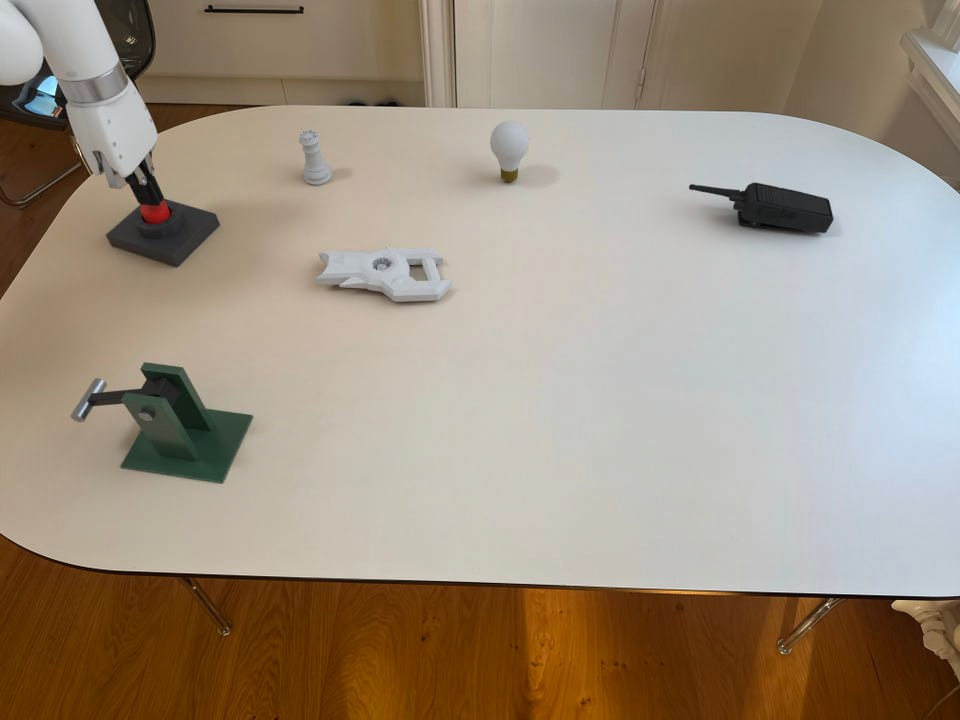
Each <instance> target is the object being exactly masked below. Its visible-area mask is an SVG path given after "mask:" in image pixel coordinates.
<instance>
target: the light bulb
mask: <svg viewBox="0 0 960 720" xmlns="http://www.w3.org/2000/svg"><path fill="white" fill-rule="evenodd" d="M489 145H490V149H491V152H492V154H493V156H495V157H496V159H497V161H498V164H499V167H500V178H501V179H502V180H503V181H504V182H507V183H512V182H514V181H516V180H517V179H518V176H519V167H520V165H521V162H522V159H523V158H524V156H526V154H527V153H528V151H529V147H530V135H529V133H528V130H527V129H526V128H525V126H523V125H522V123H519V121H514V120H506V121H503V122H500V123H499V124H497V125H496V126H495V127H494V129H493V131H492V132H491V135H490V139H489Z"/></svg>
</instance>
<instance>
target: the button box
mask: <svg viewBox="0 0 960 720" xmlns="http://www.w3.org/2000/svg"><path fill="white" fill-rule="evenodd" d="M163 201H165V202H166V204H167V206H168V209H169V211H170V217H169V218H168V219H167V220H165V221H163V222H160V223H157V224H148V223H147V222H146V221H145V220H144V218H143V216H142V214H141V212H140V208H141V206H142V205H141V204H139V205H138V206H137V207H136V208H135V209H134V210H132V211H131V212H130V213H128V214H127V216H125V217H124V218H123V219H122V220H121V221H119V223H117V224H116V225H115V226H114V227H113V228H112V229H110V231H108V232H107V233H106V234H105V237H106V239H107V240H108V242H109V244H110V246H111V247H112V248H115V249H119V250H121V251H125V252H128V253H131V254H133V255H137V256H140V257H142V258H147V259H150V260H153V261H154V262H155V261H156V262H159V263H162V264H164V265H168V266H170V267H174V268H179V267H180V266H181V265H182V264H183V263H184V262H185V261H186V260H187V259H188V258H190V256H191V255H192V254H193V253H194V252H195V251H196V250H197V249H198V248H199V247H200V246H201V245H202V244H203V243H204V242H205V241H206V240H208V238H209V237H210V236H211V235H212V234H213V233H214V232H215V231H216V230H217V229H218V228H219V227H220V226H221V223H220V220H219V218H218V215H217V213H215V212H211V211H208V210H205V209H201V208H198V207H195V206H191V205H188V204H184V203H180V202H177V201H174V200H172V199H171V200H170V199H167V198H164V199H163Z"/></svg>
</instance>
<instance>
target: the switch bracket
mask: <svg viewBox="0 0 960 720" xmlns="http://www.w3.org/2000/svg"><path fill="white" fill-rule="evenodd" d="M139 369H140V372H141V373H142V375H143V377H144V378H145V381H146V380H148V379H158V378H168V379H169V380H170V381H171V382H172V383H173V384H174V385H175V386H176V387H177V388H178V389H179V390H180V391H181V392H180V394H179V396H178V398H177V400H176V401H175V403H174V405H173V407H172V408H171V406H170V404H169V403H168V401H167V399H166V398H161V397H154V396H147V395H140V394H133V393H125V394H124V396H123V397H122V399H121V401H122V402H123V404H122V405H124V407H125V408H126V409H127V411H128V413H129V414H130V415H131V417H132V418H133V420H134V421H135V423H136V424H137V425H138V427H139V428H140V431H139V433H138V435H137V436H136V438H135V440H134V442H133V444H132V445H131V446H130V449H129V451H128V452H127V454H126V455H125V457H124V458H123V461H122V462H121V464H120V468H121V469H124V470H130V471H138V472H142V473H143V472H144V473H151V474H156V475H162V476H170V477H175V478H181V479H182V478H183V479H189V480H195V481H202V482H209V483H216V484H224V482H225V480H226V477H227V475H228V473H229V471H230V470H231V469H230V468H231V466H232V464H233V462H234V460H235V458H236V456H237V453H238V451H239V449H240V447H241V444H242V442H243V440H244V438H245V436H246V433H247V431H248V429H249V428H250V425H251V423H252V421H253V419H254V415H253V414H247V413H241V412H234V411H226V410H220V409H212V408H206V406H205V404H204V402H203V401H202V399H201V397H200V395H199V394H198V392H197V389H196V388H195V386H194V385H193V382H192V381H191V379H190V377H189V375H188V374H187V372H186V369H185V368H184V367H183V366H176V365H168V364H161V363H153V362H146V361H144V362H143V363H142V365H141V367H140V368H139Z"/></svg>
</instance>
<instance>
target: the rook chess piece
mask: <svg viewBox="0 0 960 720" xmlns="http://www.w3.org/2000/svg"><path fill="white" fill-rule="evenodd" d="M320 140H321V136H320V135H319V134H318V133H317V131H316V130H313V129H312V128H309V129H308V131H307V130H306V129H304V130H302V132H299V138H298V143H299V144H300V145H301V146H302V148H301V149H302V152H303V153H304V159H305V163H304V167H303V170H302V173H303V179H304V181H305V182H306V183H308V184H309V185H312V186H321V185H324V184H327V183H328V182H329V181H330V180H331V178H332V176H333V173H332V170H331V166H330V165H329V164H328V163H327V161H326V160H325V159H324V158H323V155H322V152H321V145H320V143H319V142H320Z"/></svg>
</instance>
